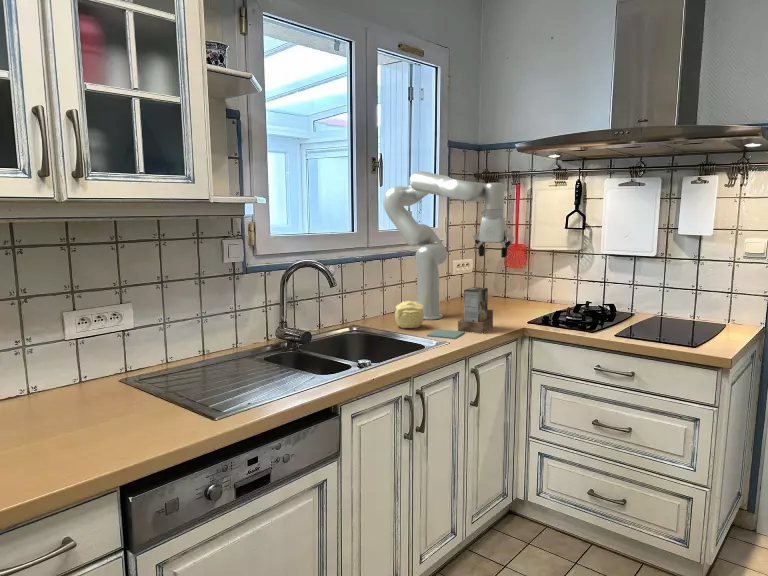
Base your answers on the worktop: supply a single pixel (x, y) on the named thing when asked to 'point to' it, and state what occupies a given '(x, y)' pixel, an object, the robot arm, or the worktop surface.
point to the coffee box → (475, 304)
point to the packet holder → (477, 324)
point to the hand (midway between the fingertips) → (492, 256)
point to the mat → (446, 334)
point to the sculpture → (409, 314)
